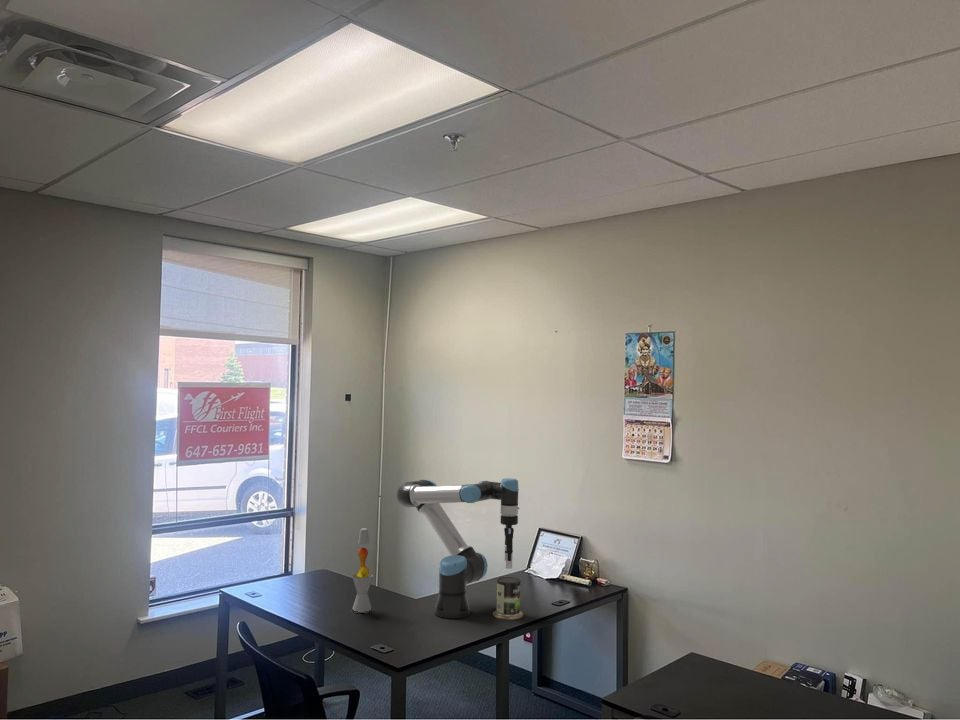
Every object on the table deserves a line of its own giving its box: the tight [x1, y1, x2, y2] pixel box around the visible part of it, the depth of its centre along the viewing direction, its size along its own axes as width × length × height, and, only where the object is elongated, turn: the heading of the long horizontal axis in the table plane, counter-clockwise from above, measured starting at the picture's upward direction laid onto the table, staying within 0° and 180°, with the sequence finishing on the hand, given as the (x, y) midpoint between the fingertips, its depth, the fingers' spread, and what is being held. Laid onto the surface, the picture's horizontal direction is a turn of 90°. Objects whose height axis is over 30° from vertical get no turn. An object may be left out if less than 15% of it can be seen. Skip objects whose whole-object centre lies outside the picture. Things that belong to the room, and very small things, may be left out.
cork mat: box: [492, 610, 524, 621], centre depth 299 cm, size 13×13×1 cm
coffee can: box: [495, 576, 521, 617], centre depth 300 cm, size 10×10×14 cm
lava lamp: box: [351, 527, 374, 612], centre depth 302 cm, size 9×9×35 cm
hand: (508, 564), depth 301 cm, fingers open, 13 cm apart
